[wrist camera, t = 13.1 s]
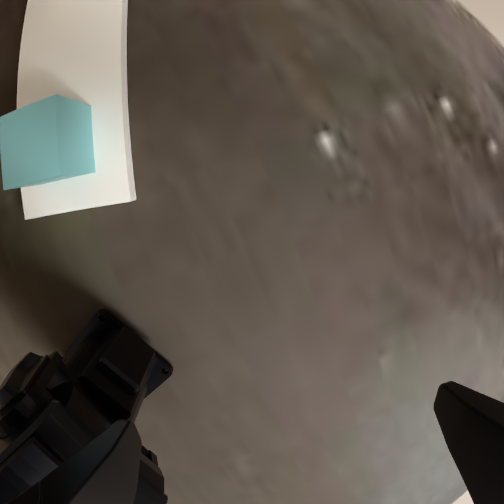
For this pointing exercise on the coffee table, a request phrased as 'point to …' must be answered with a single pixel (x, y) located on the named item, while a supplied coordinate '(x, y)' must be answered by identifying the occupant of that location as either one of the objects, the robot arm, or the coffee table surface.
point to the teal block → (46, 142)
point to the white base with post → (80, 95)
